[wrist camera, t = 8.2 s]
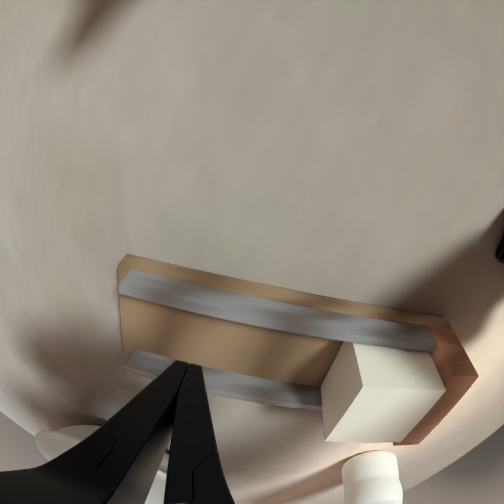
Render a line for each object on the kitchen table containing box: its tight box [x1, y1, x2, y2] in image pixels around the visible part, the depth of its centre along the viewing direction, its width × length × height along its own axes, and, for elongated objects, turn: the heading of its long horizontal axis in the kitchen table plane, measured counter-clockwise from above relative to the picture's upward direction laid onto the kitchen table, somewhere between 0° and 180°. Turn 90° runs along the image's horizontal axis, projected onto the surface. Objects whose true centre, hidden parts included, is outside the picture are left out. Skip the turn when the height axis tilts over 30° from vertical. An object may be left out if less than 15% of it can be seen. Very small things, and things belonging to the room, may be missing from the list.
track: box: [118, 254, 478, 445], centre depth 20 cm, size 24×8×6 cm, turn 79°
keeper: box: [320, 341, 446, 443], centre depth 19 cm, size 6×6×5 cm
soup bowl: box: [35, 425, 169, 504], centre depth 31 cm, size 24×24×7 cm
